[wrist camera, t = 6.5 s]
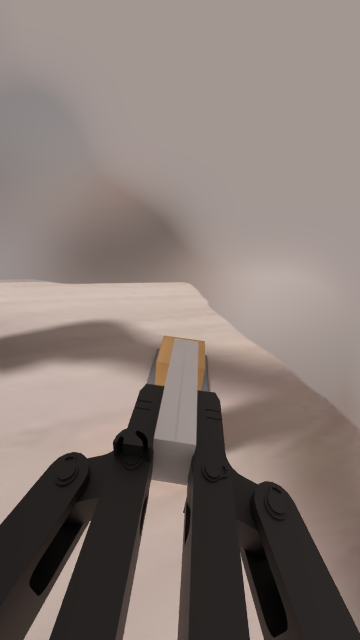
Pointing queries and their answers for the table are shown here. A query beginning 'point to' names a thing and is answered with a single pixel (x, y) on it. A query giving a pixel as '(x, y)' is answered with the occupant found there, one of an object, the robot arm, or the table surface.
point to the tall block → (165, 356)
